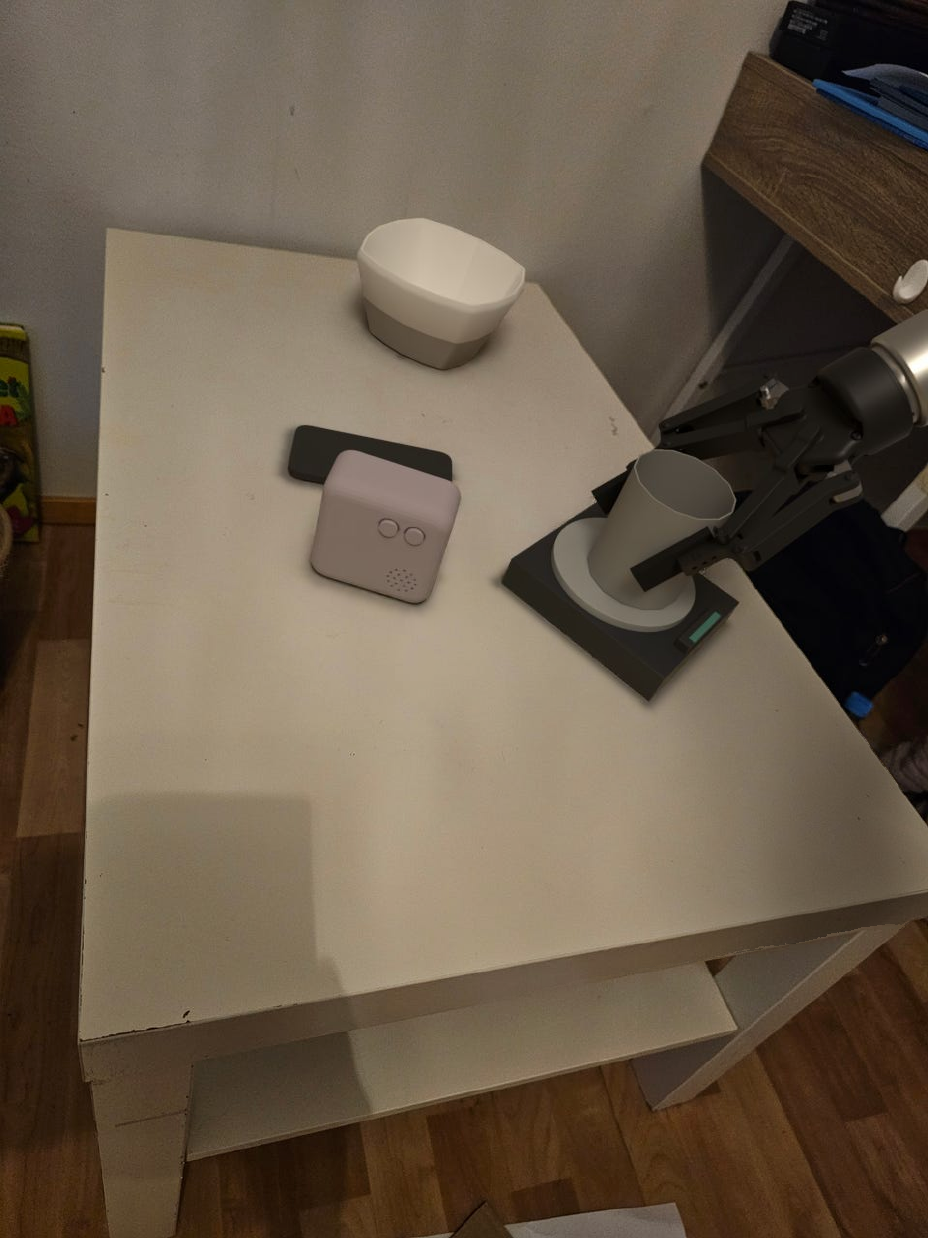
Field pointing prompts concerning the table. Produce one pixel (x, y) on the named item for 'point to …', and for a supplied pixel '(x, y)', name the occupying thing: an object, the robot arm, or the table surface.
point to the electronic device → (383, 526)
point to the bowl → (435, 289)
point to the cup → (657, 523)
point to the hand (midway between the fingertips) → (617, 540)
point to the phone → (323, 446)
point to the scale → (614, 607)
